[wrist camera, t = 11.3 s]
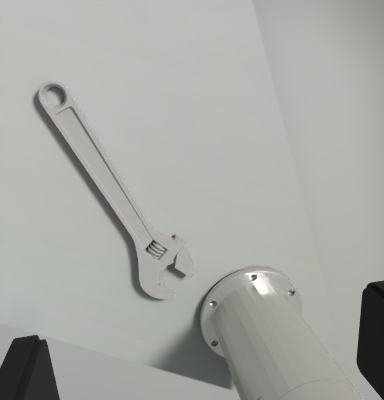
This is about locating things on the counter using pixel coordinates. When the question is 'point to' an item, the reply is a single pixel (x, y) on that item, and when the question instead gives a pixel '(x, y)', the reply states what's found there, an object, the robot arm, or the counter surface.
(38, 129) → the counter surface
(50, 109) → the adjustable wrench
